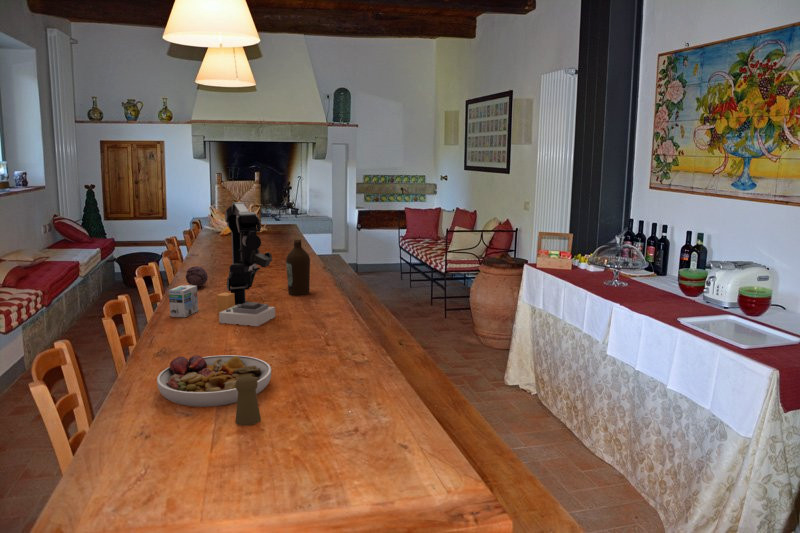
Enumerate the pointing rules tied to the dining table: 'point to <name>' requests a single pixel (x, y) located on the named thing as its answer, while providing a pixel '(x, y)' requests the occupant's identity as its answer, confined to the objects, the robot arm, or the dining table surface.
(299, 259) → the olive oil
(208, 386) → the bowl
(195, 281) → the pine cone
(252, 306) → the breaker switch
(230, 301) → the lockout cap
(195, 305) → the light bulb box
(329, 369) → the dining table surface
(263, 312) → the white recessed base box
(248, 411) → the salt shaker
